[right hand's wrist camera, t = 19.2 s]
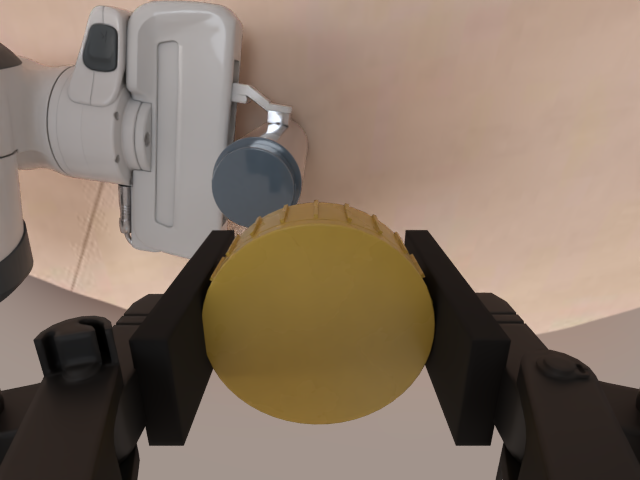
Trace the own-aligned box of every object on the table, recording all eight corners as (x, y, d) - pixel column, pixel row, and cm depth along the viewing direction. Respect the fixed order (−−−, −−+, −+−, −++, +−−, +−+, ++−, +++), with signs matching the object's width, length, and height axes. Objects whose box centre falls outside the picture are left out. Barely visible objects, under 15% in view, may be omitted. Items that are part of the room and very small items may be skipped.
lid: (404, 177, 11) (421, 194, 9) (433, 362, 13) (451, 406, 11) (188, 224, 11) (163, 250, 9) (249, 395, 13) (238, 443, 12)
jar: (256, 170, 41) (207, 233, 23) (255, 116, 39) (201, 138, 21) (307, 171, 41) (300, 235, 23) (308, 118, 39) (301, 141, 21)
